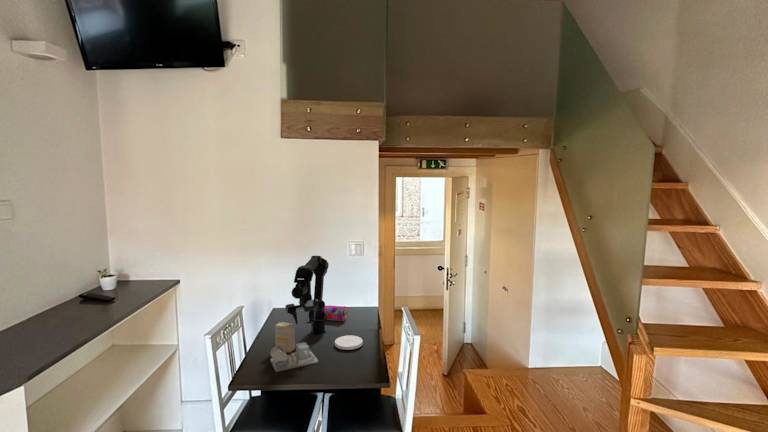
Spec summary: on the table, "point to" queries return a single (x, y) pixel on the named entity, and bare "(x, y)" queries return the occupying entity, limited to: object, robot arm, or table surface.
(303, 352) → the grey block with cylinder
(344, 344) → the plastic lid
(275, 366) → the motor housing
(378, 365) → the table surface
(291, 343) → the supplement box
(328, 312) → the pencil case
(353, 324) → the table surface
